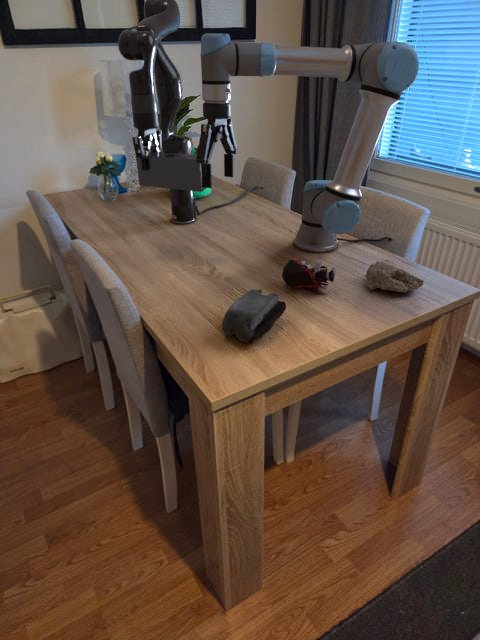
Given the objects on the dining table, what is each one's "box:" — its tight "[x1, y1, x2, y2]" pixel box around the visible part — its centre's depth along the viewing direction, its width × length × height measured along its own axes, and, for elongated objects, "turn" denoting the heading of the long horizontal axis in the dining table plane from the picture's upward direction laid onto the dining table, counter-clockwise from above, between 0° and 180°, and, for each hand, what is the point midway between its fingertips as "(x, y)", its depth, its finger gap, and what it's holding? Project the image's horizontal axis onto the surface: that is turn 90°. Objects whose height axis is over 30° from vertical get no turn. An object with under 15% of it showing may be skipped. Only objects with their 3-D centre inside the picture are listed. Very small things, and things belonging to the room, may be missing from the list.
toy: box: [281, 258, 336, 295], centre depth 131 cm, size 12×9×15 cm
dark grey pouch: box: [221, 289, 287, 345], centre depth 112 cm, size 18×11×8 cm, turn 152°
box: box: [135, 150, 206, 192], centre depth 140 cm, size 22×6×10 cm, turn 70°
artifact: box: [365, 259, 424, 293], centre depth 134 cm, size 18×8×15 cm
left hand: (150, 167), depth 142 cm, fingers closed on box, 6 cm apart
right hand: (218, 182), depth 130 cm, fingers open, 13 cm apart
